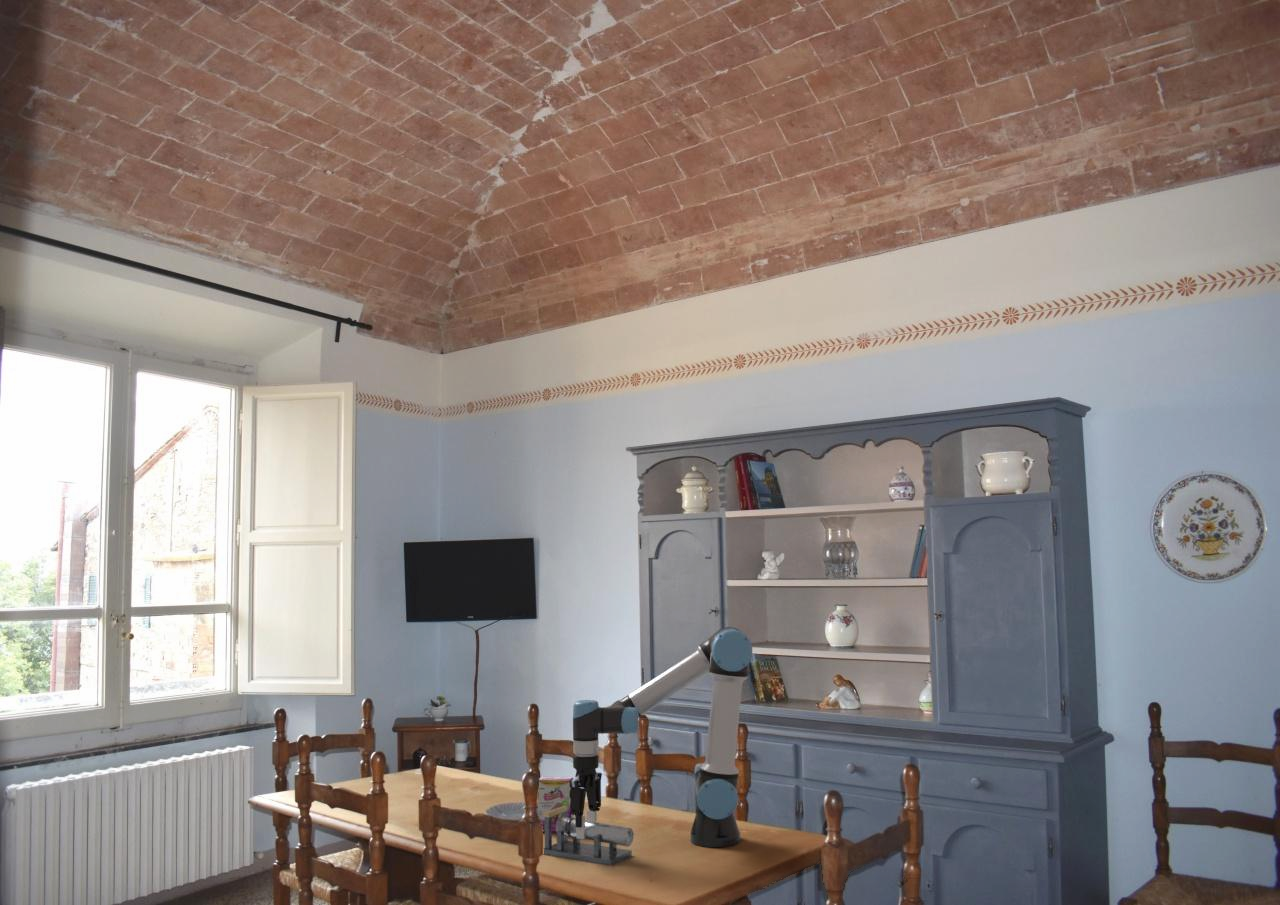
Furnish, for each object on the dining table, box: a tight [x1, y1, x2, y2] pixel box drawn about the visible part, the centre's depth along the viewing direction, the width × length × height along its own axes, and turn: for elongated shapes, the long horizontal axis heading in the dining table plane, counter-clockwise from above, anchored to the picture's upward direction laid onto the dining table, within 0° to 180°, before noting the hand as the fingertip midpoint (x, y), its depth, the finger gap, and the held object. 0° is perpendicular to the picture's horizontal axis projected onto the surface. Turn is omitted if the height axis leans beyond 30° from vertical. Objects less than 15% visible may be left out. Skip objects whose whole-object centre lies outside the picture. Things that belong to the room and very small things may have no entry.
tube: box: [555, 817, 635, 848], centre depth 295 cm, size 24×5×5 cm, turn 58°
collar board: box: [543, 806, 633, 866], centre depth 297 cm, size 24×11×12 cm, turn 58°
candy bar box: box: [538, 776, 574, 834], centre depth 325 cm, size 11×5×16 cm, turn 84°
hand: (586, 835), depth 297 cm, fingers closed on tube, 5 cm apart
